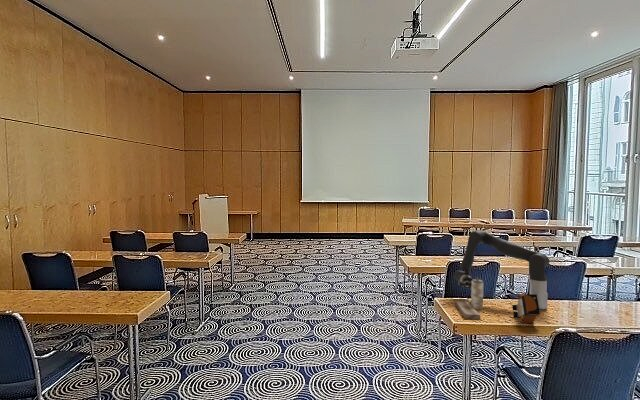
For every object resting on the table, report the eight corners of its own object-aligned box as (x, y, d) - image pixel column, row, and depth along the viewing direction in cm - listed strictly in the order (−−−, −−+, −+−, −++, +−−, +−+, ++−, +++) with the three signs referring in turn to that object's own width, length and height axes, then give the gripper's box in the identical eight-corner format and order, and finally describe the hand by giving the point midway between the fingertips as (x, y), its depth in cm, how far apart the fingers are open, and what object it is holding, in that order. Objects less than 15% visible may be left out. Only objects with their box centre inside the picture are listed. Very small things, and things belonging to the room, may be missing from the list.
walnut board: (468, 305, 266) (468, 301, 266) (480, 319, 237) (480, 314, 237) (454, 304, 267) (455, 300, 267) (465, 318, 238) (465, 314, 238)
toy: (510, 297, 247) (525, 289, 229) (520, 297, 247) (535, 289, 229) (515, 325, 241) (530, 320, 223) (525, 326, 240) (541, 320, 222)
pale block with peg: (480, 306, 264) (481, 277, 263) (482, 309, 258) (483, 278, 257) (471, 306, 264) (471, 276, 264) (473, 308, 258) (474, 278, 258)
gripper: (456, 275, 289) (461, 280, 273) (478, 276, 287) (484, 281, 271) (455, 286, 289) (460, 291, 273) (477, 287, 287) (484, 293, 271)
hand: (472, 286), depth 272 cm, fingers open, 8 cm apart
